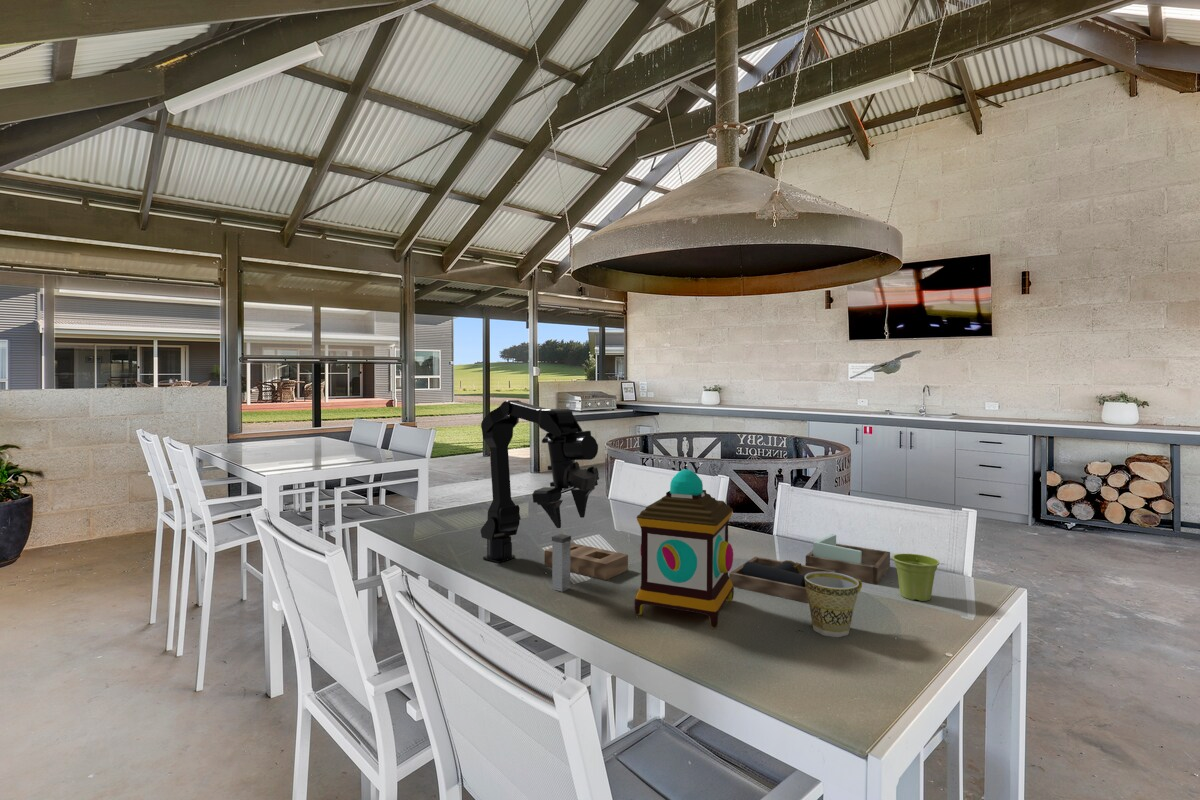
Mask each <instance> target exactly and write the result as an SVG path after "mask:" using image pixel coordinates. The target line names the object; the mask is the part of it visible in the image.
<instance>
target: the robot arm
mask: <svg viewBox="0 0 1200 800" xmlns="http://www.w3.org/2000/svg"><path fill="white" fill-rule="evenodd" d="M520 419H521V420H524V421H527V422H531V423H535V424H536V425H538V427H539V428H540V429H541V430H543V431H545V432H546V433H545V436H544V437H543V438H542V439H541V443H542V444H547V447H548V455H549V461H550V465H547V471H551V473H552V481H551V482H549V485H550V487H545V486H544V487H541V488H538V489H535V490H534V491H533V492H532V493H531V494H532V503H534V504H537V506H541V508H542V509H543V510H544V512H545V513H546V514H547V516H549V518H550V520H551V522H552V523H553V524H554V526H555V528H556V529H561V528H562V520H561V519H562V518H561V509H560V507H561V505H562V503H563V500H562V499H561V498H562V495H563V494H565V493H567V492H571V495H572V497H573V502H574V504H575V507H576V510H577V513H578V515H579V518H584V517H585V515H586V510H587V506H588V505H587V503H588V499H589V497H590V496H589V495H590V494H591V493H592V492H593V491H594V490H595V489H596V486H598V481H600V476H599V475H600V474H599V470H598V467H596V466H594V465H593V466H592V465H591V466H589V467H588V468H587V469H586V468H584V469H582V468H580V463H579V462H578V461H592V460H594V459H595V458H596V457H597V455H598V451H599V444H598V443H597V440H596V438H595V437H594V436H592V433H591V431H592V430H583V429H582V427H581V426H580V424H579V423H578V420H577V419H576V418H575V416H574V414H573V411H572V409H569V408H545V407H542V406H537V405H533V404H531V403H527V402H522V401H521V400H520V399H518V400H517V399H516V400H515V399H514V400H513V399H512V400H507V399H506V400H505V401H503V402H502V403H501V404H500V405H499V406H498V407H496V408H494V409H493V410H491V411H490V412H488V414H487V415H486V416H485V417H483V420H481V424H480V428H481V432H482V438H483V440H484V442H485V443H486V445H487V446H488V448H489V459H490V460H489V461H490V474H491V475H490V476H491V490H492V491H491V492H492V501H491V504H490V505H489V508H488V510H487V518H486V519H487V520H486V522H485V523H484V524H483V526H481V529H480V535H481V538H483V539H485V540H486V542H487V544H486V551H487V552H486V553H487V555H484V556H482V559H483V560H487V561H491V562H494V563H498V564H500V563H502V562H506V561H509V560H511V559H514V558H516V555H514V554H513V542H512V536H516V535H517V533H518V528H519V526H520V522H521V521H520V520H522V519H521V514H520V506H519V504H515V502H514V501H513V499H512V490H511V473H510V472H511V471H510V460H509V445H510V443H511V441H512V439H513V436H514V428H515V427H516V426H517V425H518V423H519V422H520Z"/></svg>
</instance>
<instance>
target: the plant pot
mask: <svg viewBox="0 0 1200 800" xmlns="http://www.w3.org/2000/svg"><path fill="white" fill-rule="evenodd" d="M892 559H893V561H894V566H895V567H896V572H897V573H896V574H897V580H898V586H899V587H898V589H899V593H900V595H901V597H903V598H905V599H908V600H911V601H914V600H918V601H920V602H926V601H930V600H932V599H931V598H932V592H933V587H934V580H935V575H936V571H937V570H938V566H939V565H940V561H939V560H938V559H937V558H934V557H931V556H927V555H923V554H918V553H917V554H916V553H896V554H893V555H892Z"/></svg>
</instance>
